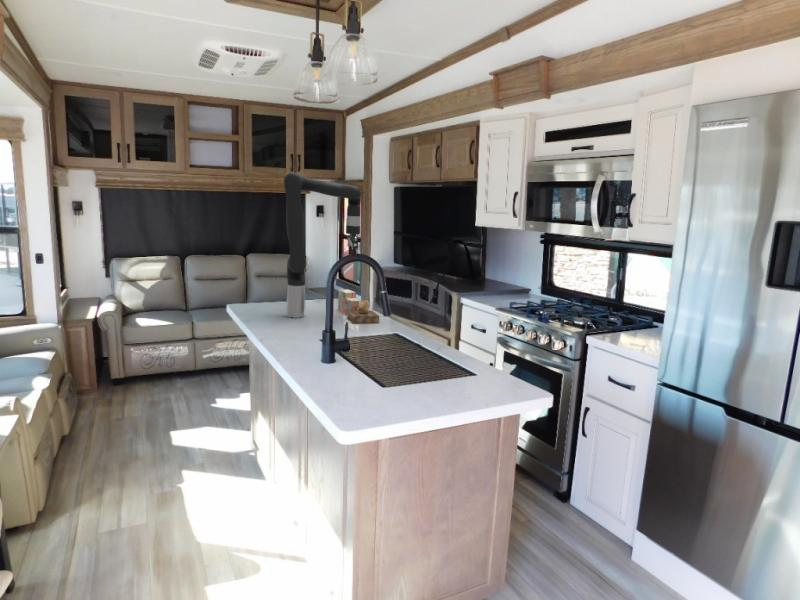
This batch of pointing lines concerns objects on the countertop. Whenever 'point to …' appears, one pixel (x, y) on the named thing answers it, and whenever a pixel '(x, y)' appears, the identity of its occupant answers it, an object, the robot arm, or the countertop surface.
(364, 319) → the walnut board
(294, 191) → the robot arm
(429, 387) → the countertop surface
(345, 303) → the stack of blocks
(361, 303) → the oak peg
